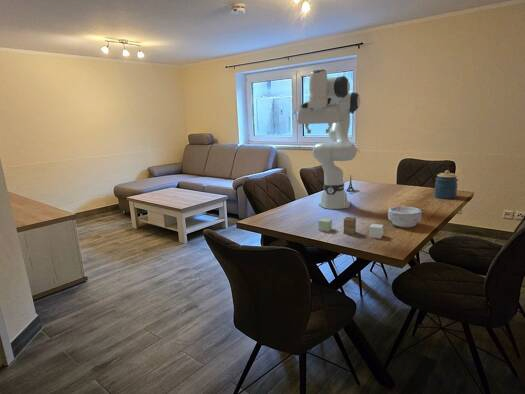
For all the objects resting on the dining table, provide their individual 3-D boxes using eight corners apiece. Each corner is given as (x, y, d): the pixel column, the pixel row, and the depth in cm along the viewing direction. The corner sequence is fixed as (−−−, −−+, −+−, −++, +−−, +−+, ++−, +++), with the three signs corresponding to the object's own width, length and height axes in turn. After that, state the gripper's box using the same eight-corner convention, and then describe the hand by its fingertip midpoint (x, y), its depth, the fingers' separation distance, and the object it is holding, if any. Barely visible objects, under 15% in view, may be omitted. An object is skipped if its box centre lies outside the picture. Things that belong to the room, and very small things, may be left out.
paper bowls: (393, 218, 177) (394, 204, 175) (424, 223, 167) (425, 208, 165) (383, 226, 165) (383, 210, 163) (415, 231, 156) (416, 215, 154)
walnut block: (346, 230, 161) (346, 216, 159) (355, 232, 159) (356, 217, 157) (343, 233, 157) (343, 219, 155) (353, 234, 155) (353, 220, 153)
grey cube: (371, 234, 155) (371, 223, 154) (382, 235, 153) (383, 224, 152) (369, 237, 151) (369, 226, 150) (380, 238, 149) (381, 228, 148)
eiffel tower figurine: (351, 194, 238) (351, 176, 235) (339, 192, 245) (339, 174, 242) (362, 191, 248) (362, 173, 245) (350, 189, 255) (350, 172, 252)
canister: (456, 200, 210) (458, 172, 206) (432, 198, 216) (435, 171, 212) (457, 195, 220) (459, 169, 216) (434, 194, 227) (436, 168, 223)
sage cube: (322, 227, 167) (322, 218, 166) (331, 228, 165) (331, 219, 163) (318, 230, 163) (318, 220, 162) (328, 231, 160) (328, 222, 159)
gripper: (340, 103, 163) (340, 132, 166) (300, 105, 171) (300, 133, 174) (338, 103, 157) (338, 132, 160) (296, 105, 165) (297, 133, 168)
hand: (318, 133), depth 167 cm, fingers open, 8 cm apart
